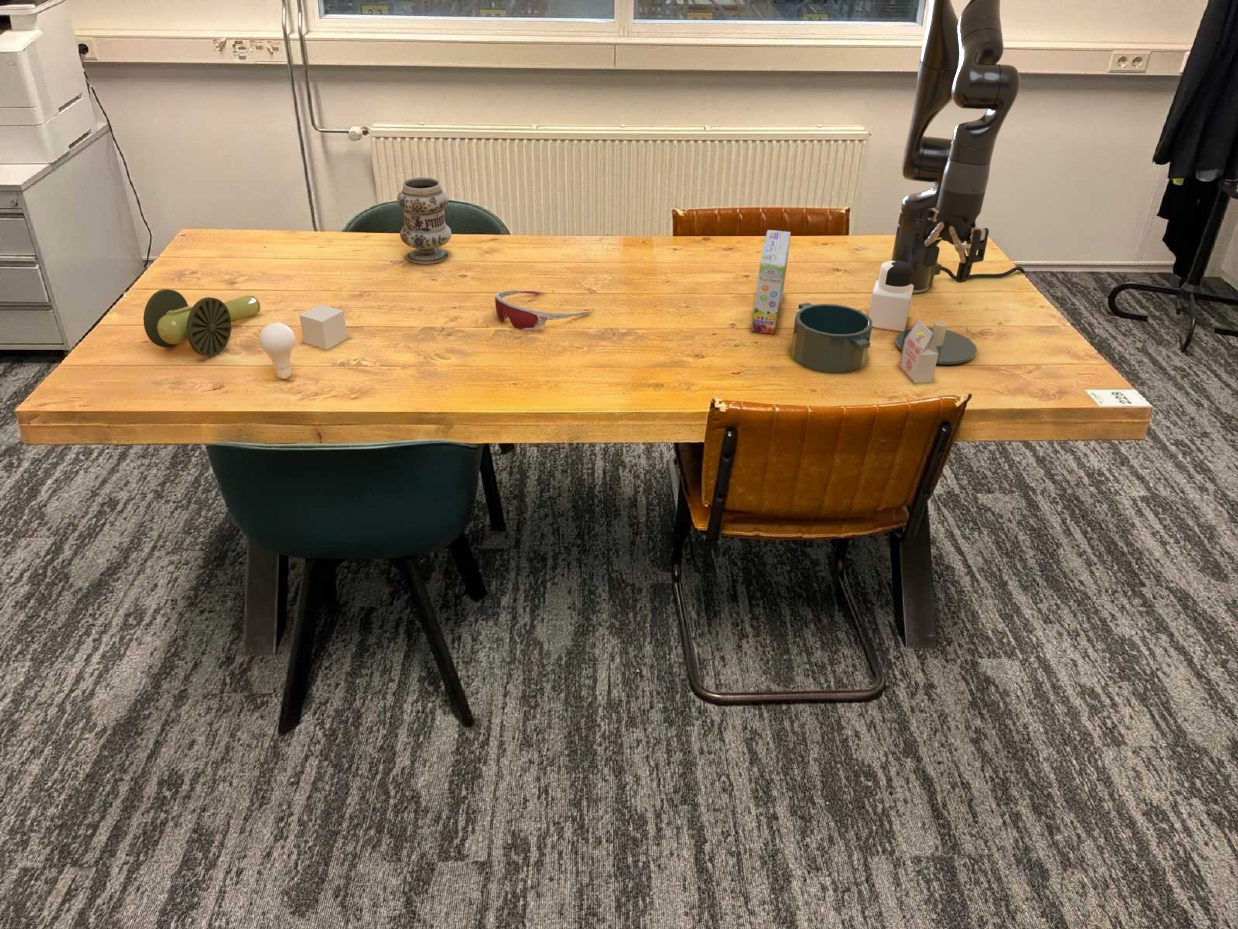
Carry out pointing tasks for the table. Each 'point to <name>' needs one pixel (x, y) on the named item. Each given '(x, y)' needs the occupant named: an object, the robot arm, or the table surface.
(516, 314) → the sunglasses
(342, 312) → the grey cube
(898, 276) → the container
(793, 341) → the cooking pot
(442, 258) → the apothecary jar
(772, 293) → the snack box
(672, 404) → the table surface
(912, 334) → the white carton
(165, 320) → the cannon
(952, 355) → the lid
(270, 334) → the lightbulb
